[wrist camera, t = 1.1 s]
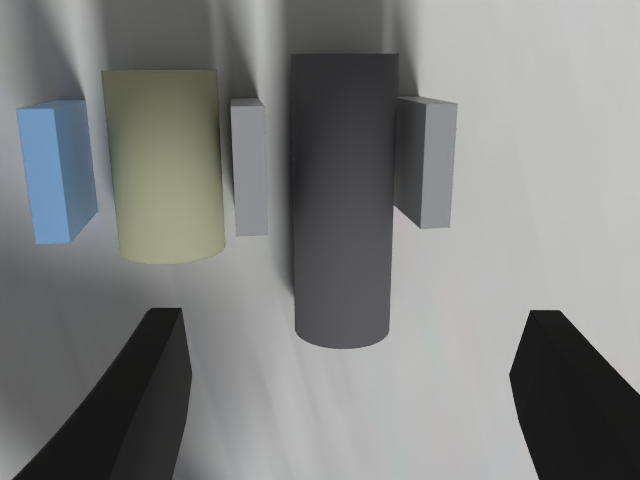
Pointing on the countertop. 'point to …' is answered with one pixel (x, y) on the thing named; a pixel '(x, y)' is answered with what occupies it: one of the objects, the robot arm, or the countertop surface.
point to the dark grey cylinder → (343, 195)
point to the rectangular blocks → (248, 165)
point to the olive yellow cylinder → (165, 163)
